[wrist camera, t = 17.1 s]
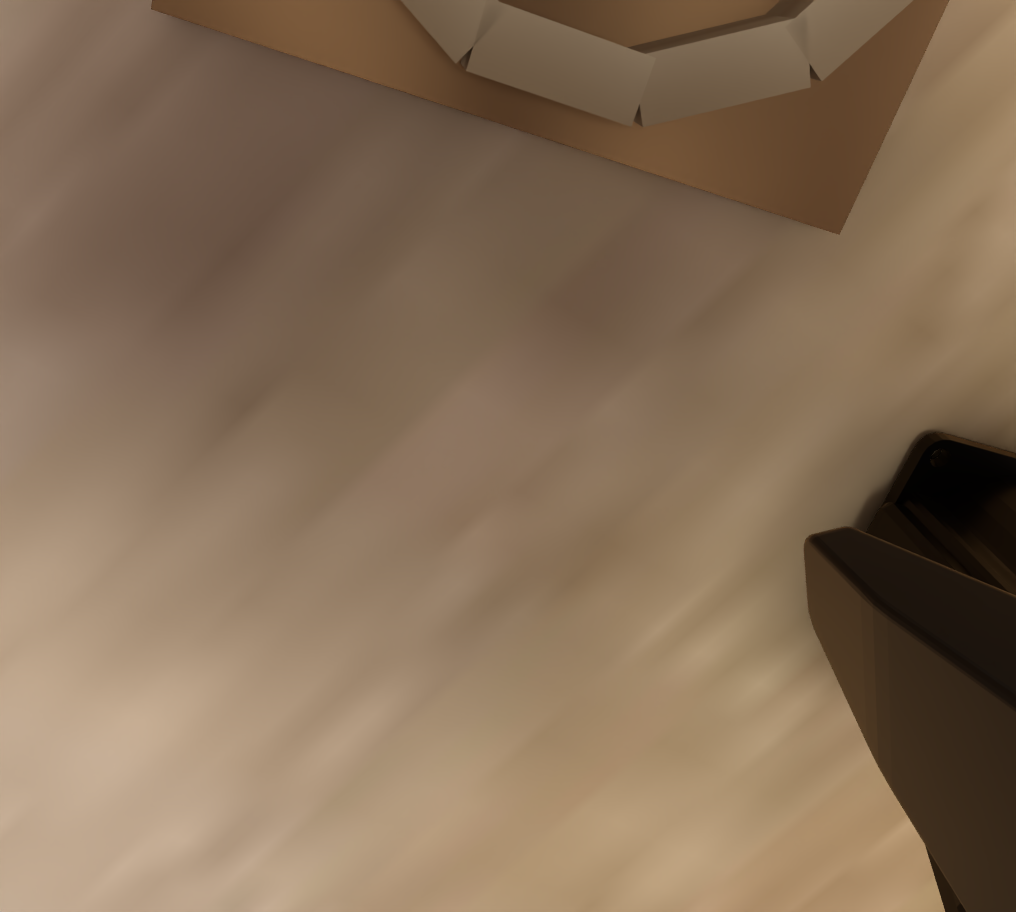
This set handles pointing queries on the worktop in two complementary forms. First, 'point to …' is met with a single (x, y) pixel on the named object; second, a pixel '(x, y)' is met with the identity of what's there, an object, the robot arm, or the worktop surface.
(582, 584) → the worktop surface
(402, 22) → the collar base
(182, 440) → the worktop surface
